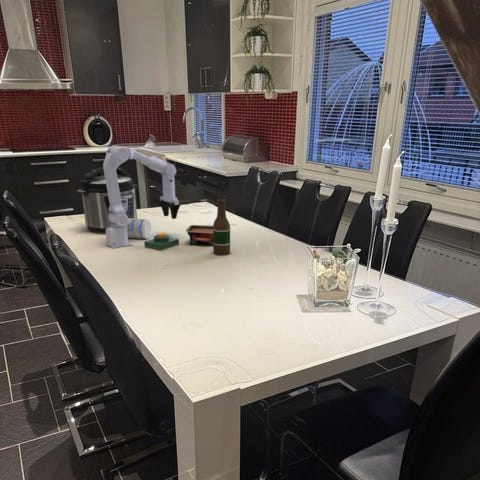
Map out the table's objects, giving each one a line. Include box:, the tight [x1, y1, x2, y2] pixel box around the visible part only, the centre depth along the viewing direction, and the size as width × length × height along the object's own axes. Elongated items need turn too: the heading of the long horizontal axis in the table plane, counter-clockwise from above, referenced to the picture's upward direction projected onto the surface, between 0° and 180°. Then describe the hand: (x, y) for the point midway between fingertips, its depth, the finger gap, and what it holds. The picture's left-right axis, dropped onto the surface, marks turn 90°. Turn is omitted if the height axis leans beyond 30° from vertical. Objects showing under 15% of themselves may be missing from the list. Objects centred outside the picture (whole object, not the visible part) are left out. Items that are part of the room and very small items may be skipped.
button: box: [156, 232, 167, 238], centre depth 218 cm, size 4×4×2 cm
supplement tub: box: [127, 218, 152, 240], centre depth 231 cm, size 10×10×15 cm
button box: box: [143, 234, 180, 251], centre depth 219 cm, size 13×10×4 cm
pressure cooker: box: [76, 166, 138, 234], centre depth 243 cm, size 30×28×32 cm
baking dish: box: [185, 224, 213, 246], centre depth 224 cm, size 14×18×10 cm
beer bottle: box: [212, 197, 231, 256], centre depth 205 cm, size 8×8×24 cm
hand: (170, 217), depth 231 cm, fingers open, 7 cm apart
